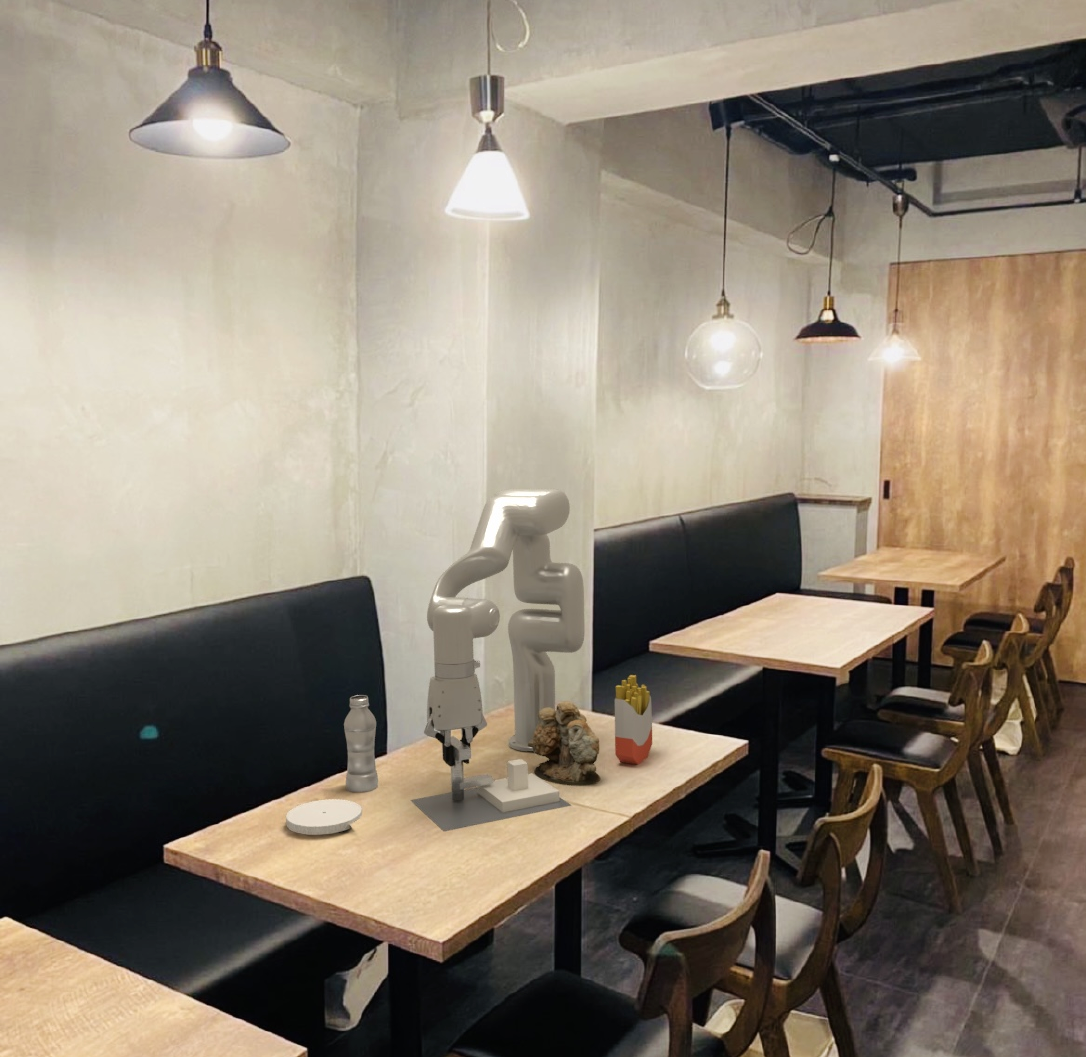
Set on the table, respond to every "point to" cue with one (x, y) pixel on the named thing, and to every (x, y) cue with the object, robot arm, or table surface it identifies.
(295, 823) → the plastic lid
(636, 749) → the french fries container
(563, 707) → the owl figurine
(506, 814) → the base
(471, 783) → the t key
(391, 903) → the table surface
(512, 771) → the cover
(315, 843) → the table surface
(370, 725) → the plastic bottle
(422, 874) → the table surface
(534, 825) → the table surface
